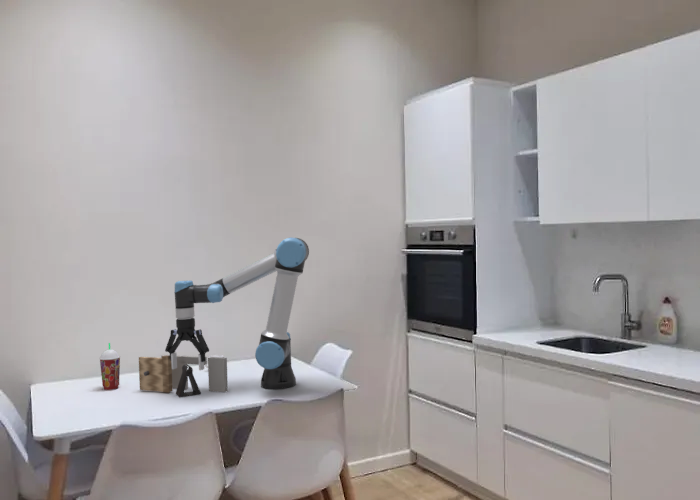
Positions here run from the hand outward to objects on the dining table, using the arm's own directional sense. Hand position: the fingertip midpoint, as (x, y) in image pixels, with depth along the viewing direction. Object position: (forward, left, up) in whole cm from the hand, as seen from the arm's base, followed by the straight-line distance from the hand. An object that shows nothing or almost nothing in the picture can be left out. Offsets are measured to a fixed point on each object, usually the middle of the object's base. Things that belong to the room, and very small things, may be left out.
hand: (188, 369), depth 259 cm
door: (+17, +1, -10) cm, 20 cm away
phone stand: (0, 0, -11) cm, 11 cm away
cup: (+17, -44, -11) cm, 48 cm away
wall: (+3, -8, -10) cm, 13 cm away
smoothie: (+41, 0, -11) cm, 42 cm away
